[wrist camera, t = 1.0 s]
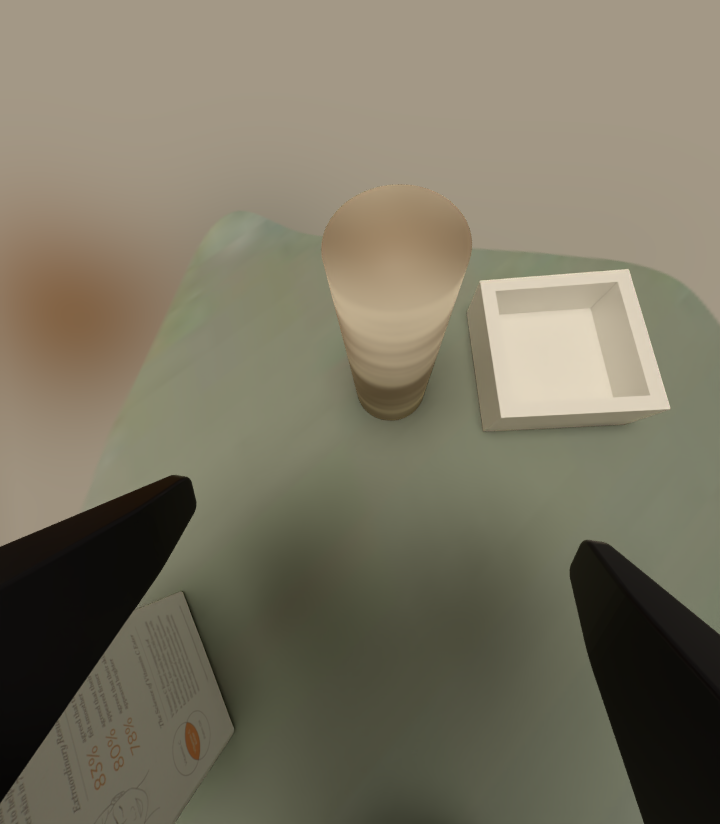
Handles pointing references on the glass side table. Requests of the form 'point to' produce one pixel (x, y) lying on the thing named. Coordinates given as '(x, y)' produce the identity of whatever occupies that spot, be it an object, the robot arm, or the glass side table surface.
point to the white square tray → (562, 352)
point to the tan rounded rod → (395, 289)
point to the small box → (130, 731)
